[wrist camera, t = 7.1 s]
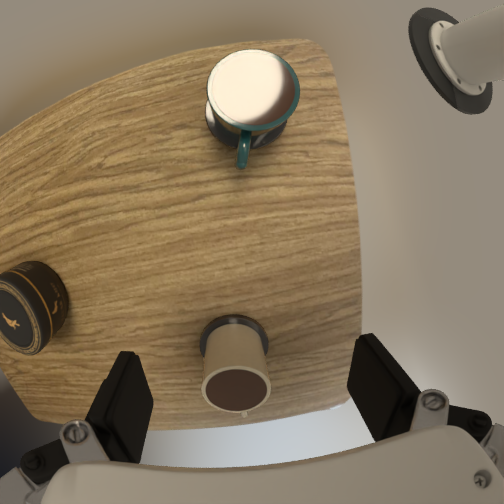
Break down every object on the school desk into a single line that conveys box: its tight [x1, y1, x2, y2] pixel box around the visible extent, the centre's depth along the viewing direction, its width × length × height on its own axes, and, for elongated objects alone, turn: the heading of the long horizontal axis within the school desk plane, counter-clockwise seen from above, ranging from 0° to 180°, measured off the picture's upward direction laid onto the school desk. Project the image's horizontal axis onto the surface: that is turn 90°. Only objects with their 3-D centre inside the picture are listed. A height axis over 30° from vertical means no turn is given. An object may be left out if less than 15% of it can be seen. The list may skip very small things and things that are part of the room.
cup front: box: [207, 49, 300, 170], centre depth 21 cm, size 9×7×8 cm
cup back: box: [201, 324, 271, 417], centre depth 28 cm, size 9×7×8 cm
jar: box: [0, 261, 68, 355], centre depth 24 cm, size 10×10×8 cm
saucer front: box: [205, 99, 287, 150], centre depth 24 cm, size 8×8×1 cm
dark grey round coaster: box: [200, 315, 268, 357], centre depth 31 cm, size 8×8×1 cm
